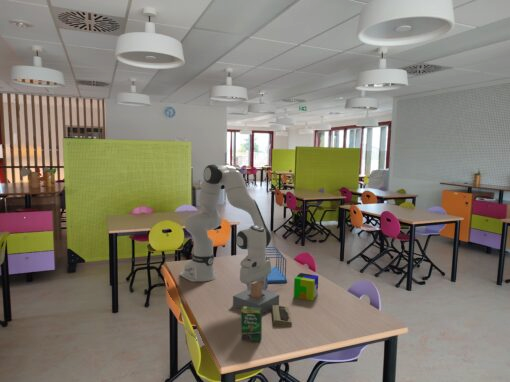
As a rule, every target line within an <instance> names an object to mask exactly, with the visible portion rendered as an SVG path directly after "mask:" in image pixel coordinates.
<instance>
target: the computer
mask: <svg viewBox="0 0 510 382" xmlns="http://www.w3.org/2000/svg"><path fill="white" fill-rule="evenodd" d="M289 309H290V308H289V306H284V305H280V304H279V305H273V306H272V309H271V314H272V315H271V317H272V323H273V324H272V325H273V327H292V324H293V322H292V319H291V318H292V317H291V313H290V310H289Z"/></svg>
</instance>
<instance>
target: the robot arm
mask: <svg viewBox="0 0 510 382" xmlns="http://www.w3.org/2000/svg"><path fill="white" fill-rule="evenodd" d="M222 186H224V189H225V193H226V198H227V200H228V204H230V205H231V206H233V208H236V209H238V210H239V209H240V210H242V211H244V212H246V213H248V214H249V216H250V218H251V220H252V223H253V225H251V226H249V228H246V229H243V230H240V231H237V234H236V238H235V244H236V246H238V248H239V249H241V250H247V255H246V256H245V257H244V258H243V259H242V260H241V261H240V264H239V265H240V266H241V267H240V269H239V270H240V271H239V281H240V283H243V284H245V285H246V288H247V289H246V290H249V291H250V290H252V286H251V285H250V284H251V282H252V281H254V280H257V279H259V278H261V281H260V283H262V285H264V281H265V279H266V276H267V275H269V274H270V273H271V267H272V263H271V258H269V257H270V256H269V255H266V254H267V253H266V252H267V250H265V249H267V248H266V247H269V245H270V243H271V240H272V234H271V232H270V231H269V229H268V227H267V225H266V223H265V220H264V217H263V215H262V212H261V209H260V208H259V205H258V204H257V201H256V200H255V199H253V198H252V196H251V195H250V193H249V192H248V187H247V183H246V181H245V179H244V176H243V174H242V171H241V169H240V167H238V166H236V165H229V164H209V165H206V167H204V170H203V180H202V184H201V187H200V191H199V196H198V204H199V205H200V206H201V208H202V210H201V212H199V213H193V214H191V215H189V216H187V217H186V218H185V219H184V228H185V230H186V231H187V232H188V233H189V234H190V235H191V237H192V240H193V253H194V254H193V253H192V254H191V255H190V257H191V259H190V261H188V262H187V263H186V264H185V265H184V268H183V271H181V272H180V273H179V275H180V276H181V277H183V279H186V280H188V281H190V282H191V283H192V282H193V283H194V282H209V281H212V280H215V279H216V271H215V264H214V263H215V262H214V261H215V256H214V255H215V254H214V241H213V239H211V238H210V237H209V235H208V231H212V230H215V229H217V228H218V227H220V226H221V225H222V222H223V221H222V220H223V219H222V216H221V214H220V213H219V210H218V209H219V208H218V205H219V204H218V203H219V200H220V199H219V198H220V194H221V188H222Z"/></svg>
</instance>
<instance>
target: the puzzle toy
mask: <svg viewBox="0 0 510 382" xmlns="http://www.w3.org/2000/svg"><path fill="white" fill-rule="evenodd" d="M293 281H294V282H293V298H298V299H303V300H308V301H314V300H315V298H316V297H317V295H318V293H319V275H316V274H309V273H303V272H299V274H297V276H295V277H294V279H293Z"/></svg>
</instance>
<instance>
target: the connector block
mask: <svg viewBox="0 0 510 382" xmlns="http://www.w3.org/2000/svg"><path fill="white" fill-rule="evenodd" d="M251 286H252V290H251V297H253V298H256V299H258V298H261V297H262V283H260V282H257V281H255V282H253V283H251Z"/></svg>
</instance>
